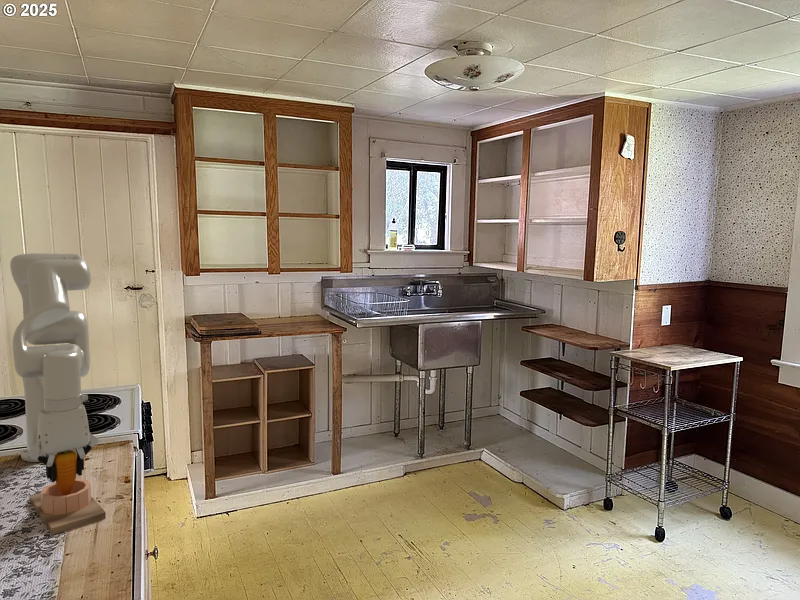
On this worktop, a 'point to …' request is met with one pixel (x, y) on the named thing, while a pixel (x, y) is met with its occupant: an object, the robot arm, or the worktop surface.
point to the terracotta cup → (65, 498)
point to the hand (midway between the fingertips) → (65, 476)
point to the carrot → (65, 471)
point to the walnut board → (68, 516)
